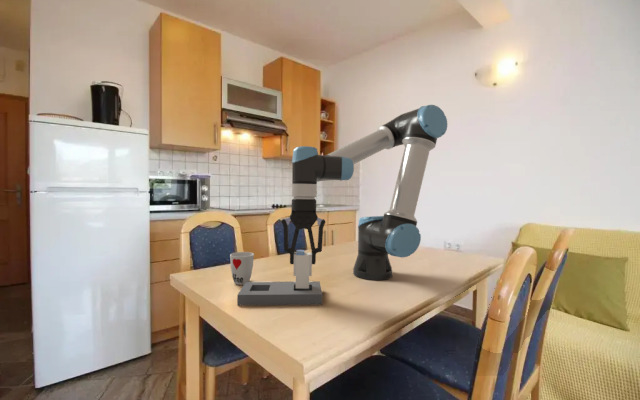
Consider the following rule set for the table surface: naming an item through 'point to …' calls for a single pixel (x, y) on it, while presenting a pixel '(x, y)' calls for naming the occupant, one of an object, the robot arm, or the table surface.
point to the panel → (279, 294)
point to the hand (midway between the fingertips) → (302, 274)
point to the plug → (302, 269)
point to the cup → (241, 266)
